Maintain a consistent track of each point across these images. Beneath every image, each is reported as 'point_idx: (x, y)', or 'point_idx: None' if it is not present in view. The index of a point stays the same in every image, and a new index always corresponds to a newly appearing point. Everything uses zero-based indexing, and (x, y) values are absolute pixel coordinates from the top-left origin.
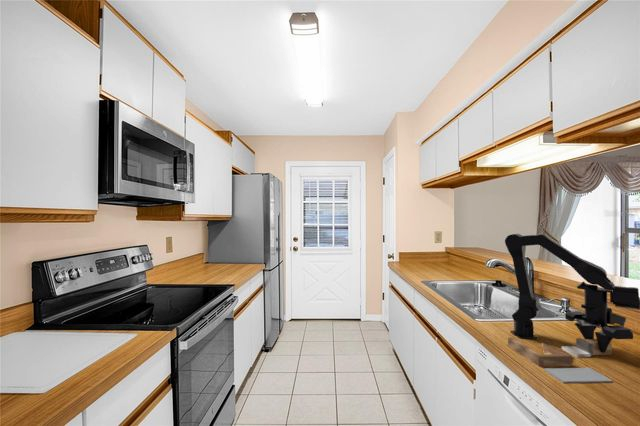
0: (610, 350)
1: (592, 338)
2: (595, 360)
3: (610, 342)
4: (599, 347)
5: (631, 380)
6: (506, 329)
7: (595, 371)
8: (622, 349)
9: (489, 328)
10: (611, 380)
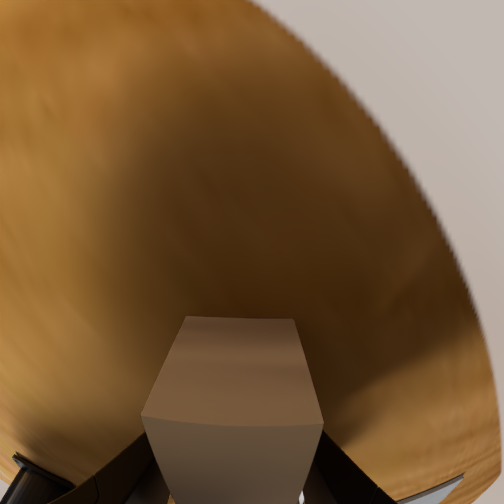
0: (298, 352)
1: (148, 486)
2: None
3: (316, 428)
4: (307, 484)
5: (494, 428)
6: None
7: (416, 499)
8: (172, 50)
9: None
10: (461, 479)
